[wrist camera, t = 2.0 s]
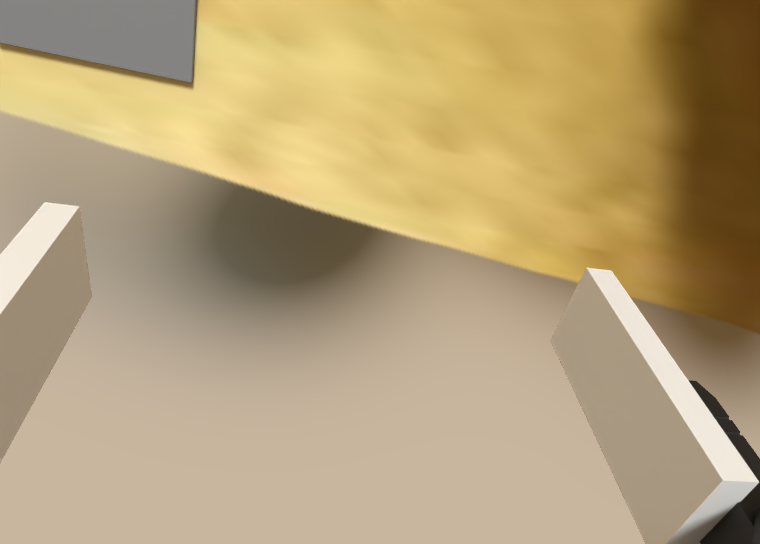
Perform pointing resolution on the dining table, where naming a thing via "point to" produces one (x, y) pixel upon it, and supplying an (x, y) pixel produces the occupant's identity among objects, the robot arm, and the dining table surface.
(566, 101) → the dining table surface
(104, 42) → the mat
